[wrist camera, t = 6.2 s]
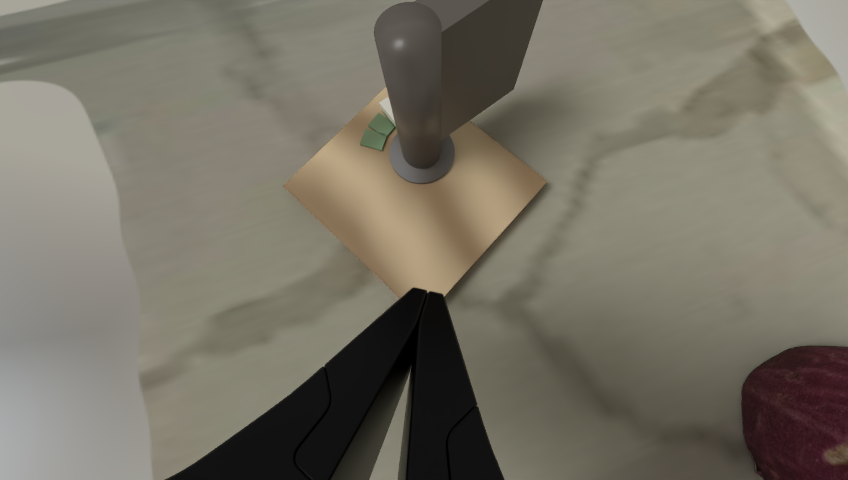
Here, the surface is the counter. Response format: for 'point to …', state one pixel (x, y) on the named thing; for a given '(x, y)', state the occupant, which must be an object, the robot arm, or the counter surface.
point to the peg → (448, 65)
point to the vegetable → (799, 414)
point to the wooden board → (414, 199)
